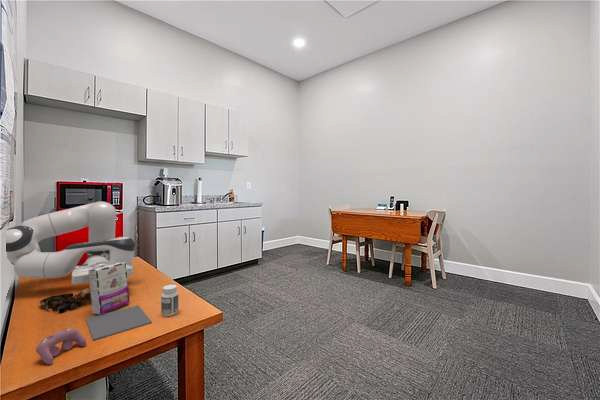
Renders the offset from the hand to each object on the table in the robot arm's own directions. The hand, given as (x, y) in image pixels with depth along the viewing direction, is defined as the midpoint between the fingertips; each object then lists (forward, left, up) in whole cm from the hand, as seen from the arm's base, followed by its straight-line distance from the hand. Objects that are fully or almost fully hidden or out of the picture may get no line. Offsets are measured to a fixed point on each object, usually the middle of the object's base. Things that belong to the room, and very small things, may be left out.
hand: (107, 278), depth 103 cm
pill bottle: (+23, +16, -11) cm, 30 cm away
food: (-13, -7, -11) cm, 18 cm away
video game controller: (+29, -14, -11) cm, 34 cm away
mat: (+18, +1, -10) cm, 21 cm away
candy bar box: (+5, +1, -10) cm, 12 cm away
